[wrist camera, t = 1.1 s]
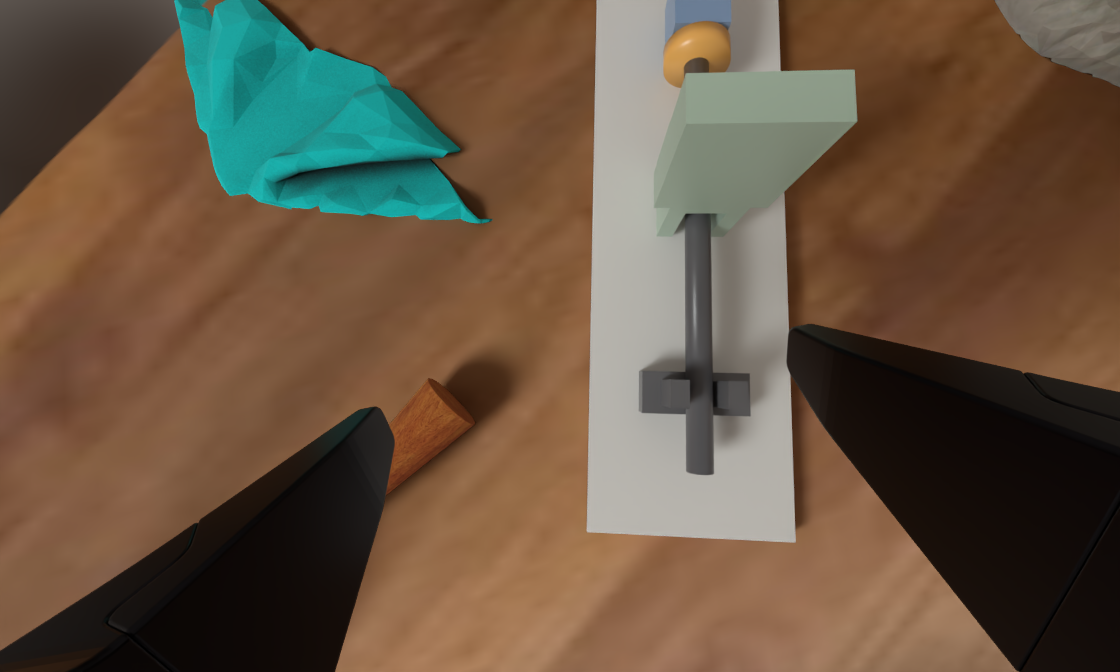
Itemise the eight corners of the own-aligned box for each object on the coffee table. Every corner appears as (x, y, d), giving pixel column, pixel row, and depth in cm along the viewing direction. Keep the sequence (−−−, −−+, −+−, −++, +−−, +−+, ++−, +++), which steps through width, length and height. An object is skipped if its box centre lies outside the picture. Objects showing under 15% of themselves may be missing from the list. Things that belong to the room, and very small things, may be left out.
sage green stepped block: (737, 236, 21) (857, 121, 12) (642, 236, 22) (686, 123, 12) (735, 162, 22) (850, -6, 12) (643, 163, 22) (685, 0, 13)
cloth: (118, 52, 28) (77, 23, 25) (279, -81, 28) (252, -122, 26) (352, 350, 24) (328, 347, 22) (531, 197, 25) (525, 178, 22)
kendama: (491, 456, 19) (122, 829, 17) (494, 430, 25) (223, 702, 22) (394, 361, 18) (2, 730, 16) (421, 358, 24) (137, 627, 22)
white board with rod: (785, 535, 21) (840, 577, 17) (586, 525, 22) (587, 563, 17) (769, -6, 24) (812, -95, 20) (596, 0, 25) (598, -85, 20)
